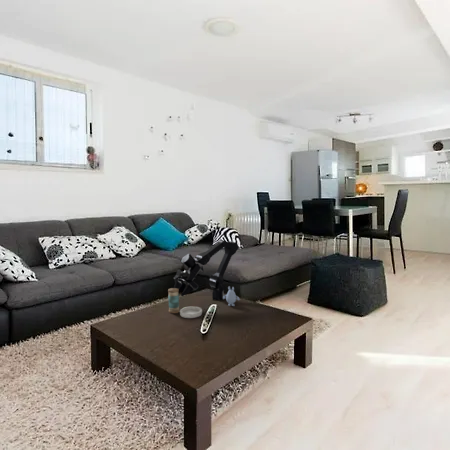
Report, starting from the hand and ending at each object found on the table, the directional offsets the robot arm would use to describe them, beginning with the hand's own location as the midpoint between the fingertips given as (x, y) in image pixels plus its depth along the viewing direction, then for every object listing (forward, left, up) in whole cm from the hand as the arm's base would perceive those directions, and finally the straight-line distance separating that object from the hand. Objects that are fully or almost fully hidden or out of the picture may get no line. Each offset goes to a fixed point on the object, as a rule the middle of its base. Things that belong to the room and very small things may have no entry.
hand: (177, 293), depth 203 cm
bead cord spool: (+2, +2, -10) cm, 10 cm away
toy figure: (-30, -11, -10) cm, 34 cm away
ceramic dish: (-9, +5, -10) cm, 14 cm away
